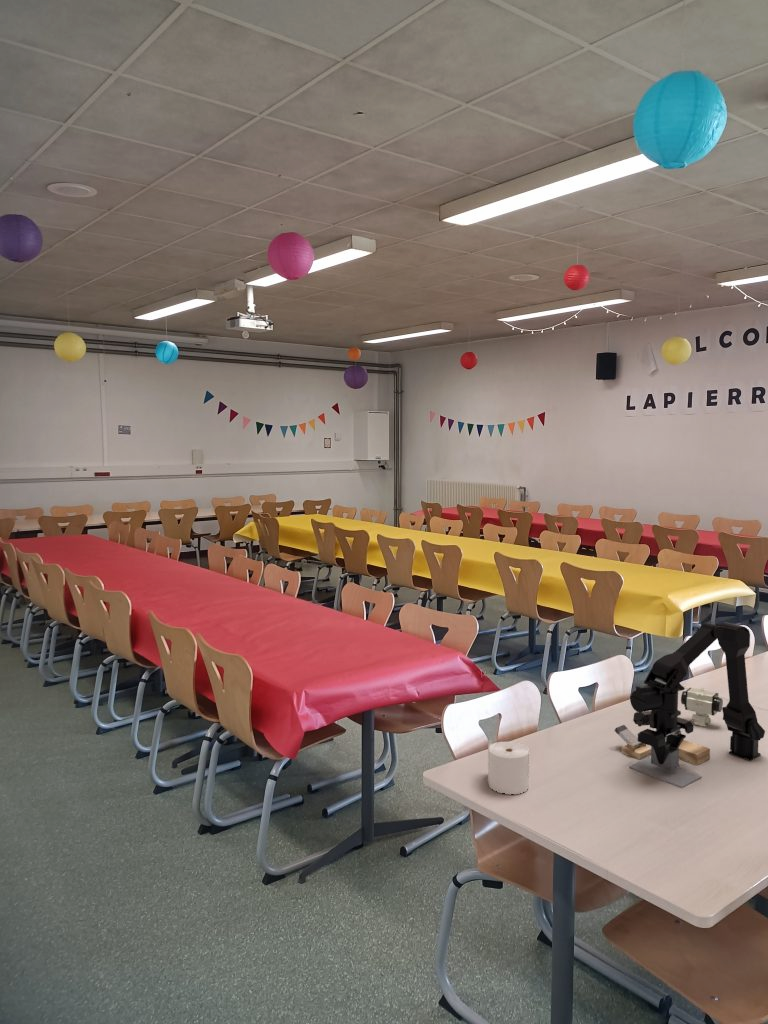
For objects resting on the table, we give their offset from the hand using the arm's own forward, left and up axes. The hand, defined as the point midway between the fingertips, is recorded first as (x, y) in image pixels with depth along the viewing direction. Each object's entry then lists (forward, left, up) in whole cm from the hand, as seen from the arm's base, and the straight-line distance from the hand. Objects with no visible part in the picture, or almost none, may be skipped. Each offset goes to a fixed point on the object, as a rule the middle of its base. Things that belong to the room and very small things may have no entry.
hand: (665, 761), depth 199 cm
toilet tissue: (+22, +40, -3) cm, 46 cm away
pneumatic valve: (+12, -41, -3) cm, 43 cm away
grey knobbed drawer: (0, 0, -1) cm, 1 cm away
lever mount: (+12, -5, -3) cm, 13 cm away
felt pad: (0, 0, -3) cm, 3 cm away
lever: (+12, -5, -1) cm, 13 cm away
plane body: (+4, -15, -3) cm, 16 cm away
